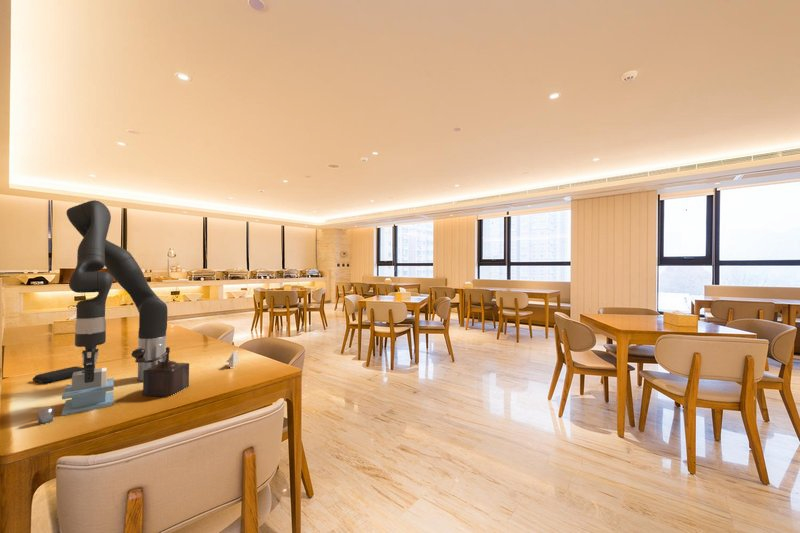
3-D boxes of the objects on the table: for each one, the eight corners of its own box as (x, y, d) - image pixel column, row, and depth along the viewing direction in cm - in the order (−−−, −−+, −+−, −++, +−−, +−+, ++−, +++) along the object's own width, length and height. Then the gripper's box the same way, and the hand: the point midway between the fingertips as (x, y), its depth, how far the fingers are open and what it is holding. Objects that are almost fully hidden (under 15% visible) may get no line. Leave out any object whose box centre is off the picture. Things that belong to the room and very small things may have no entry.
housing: (71, 391, 104) (72, 374, 104) (73, 387, 108) (73, 370, 108) (106, 385, 110) (106, 369, 110) (106, 381, 113) (106, 365, 113)
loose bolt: (53, 418, 98) (54, 405, 98) (52, 422, 96) (52, 409, 96) (39, 422, 96) (39, 408, 96) (37, 425, 94) (37, 412, 94)
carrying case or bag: (45, 386, 125) (92, 374, 139) (45, 378, 125) (92, 367, 139) (30, 382, 128) (77, 371, 142) (30, 375, 128) (77, 364, 142)
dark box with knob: (162, 385, 126) (163, 339, 126) (189, 386, 126) (190, 340, 126) (127, 402, 111) (128, 349, 111) (158, 403, 110) (159, 350, 110)
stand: (113, 394, 117) (113, 377, 117) (113, 405, 108) (113, 387, 108) (66, 403, 109) (66, 385, 109) (61, 415, 100) (61, 396, 100)
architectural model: (225, 369, 148) (225, 353, 148) (231, 365, 155) (231, 349, 155) (233, 369, 149) (233, 353, 149) (238, 364, 155) (239, 349, 155)
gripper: (76, 328, 112) (76, 375, 112) (72, 335, 101) (72, 387, 101) (106, 326, 117) (105, 371, 116) (105, 332, 106) (104, 381, 106)
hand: (89, 378), depth 109 cm, fingers open, 8 cm apart
